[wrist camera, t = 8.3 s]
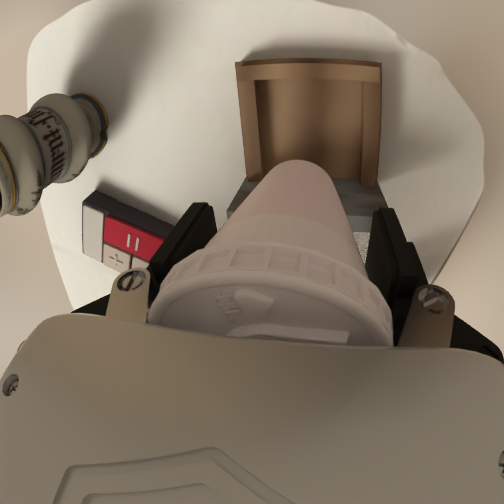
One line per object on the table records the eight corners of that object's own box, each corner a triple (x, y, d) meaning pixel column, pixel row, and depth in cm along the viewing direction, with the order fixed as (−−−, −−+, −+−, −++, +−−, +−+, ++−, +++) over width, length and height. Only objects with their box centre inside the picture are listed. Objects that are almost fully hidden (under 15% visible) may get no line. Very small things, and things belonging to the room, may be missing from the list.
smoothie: (386, 204, 14) (437, 534, 3) (294, 265, 17) (238, 529, 6) (300, 104, 12) (129, 565, 1) (211, 189, 15) (45, 457, 4)
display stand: (251, 181, 34) (228, 226, 26) (239, 62, 26) (206, 63, 18) (372, 185, 31) (389, 233, 23) (377, 63, 23) (405, 63, 15)
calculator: (159, 293, 44) (80, 256, 42) (168, 274, 48) (92, 241, 46) (171, 242, 37) (79, 202, 36) (182, 224, 41) (95, 188, 39)
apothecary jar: (115, 170, 36) (24, 246, 22) (58, 159, 37) (-27, 220, 23) (117, 85, 29) (-2, 128, 15) (54, 86, 29) (-48, 129, 15)
